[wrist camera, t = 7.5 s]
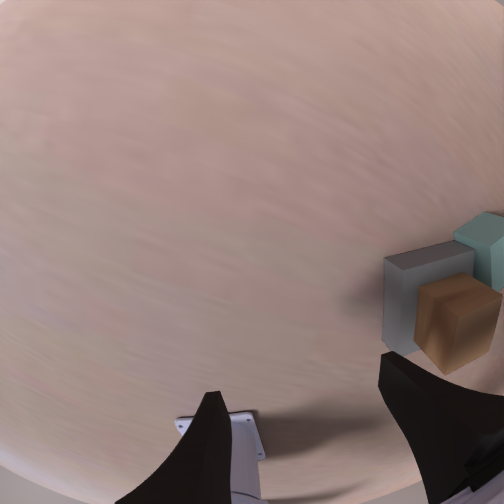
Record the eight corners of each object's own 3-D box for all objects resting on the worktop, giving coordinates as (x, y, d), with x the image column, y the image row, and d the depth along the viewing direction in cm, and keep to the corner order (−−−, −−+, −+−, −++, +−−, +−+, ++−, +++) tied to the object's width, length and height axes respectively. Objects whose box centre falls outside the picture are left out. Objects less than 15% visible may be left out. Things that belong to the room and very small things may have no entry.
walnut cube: (455, 322, 20) (488, 351, 15) (413, 340, 20) (444, 375, 15) (462, 271, 18) (502, 295, 14) (418, 286, 18) (458, 316, 14)
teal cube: (488, 255, 22) (520, 270, 17) (459, 277, 22) (491, 297, 17) (483, 211, 20) (519, 222, 15) (452, 231, 21) (490, 246, 16)
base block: (447, 316, 23) (463, 329, 20) (382, 340, 23) (396, 358, 20) (454, 240, 21) (475, 249, 18) (383, 257, 21) (402, 270, 18)
